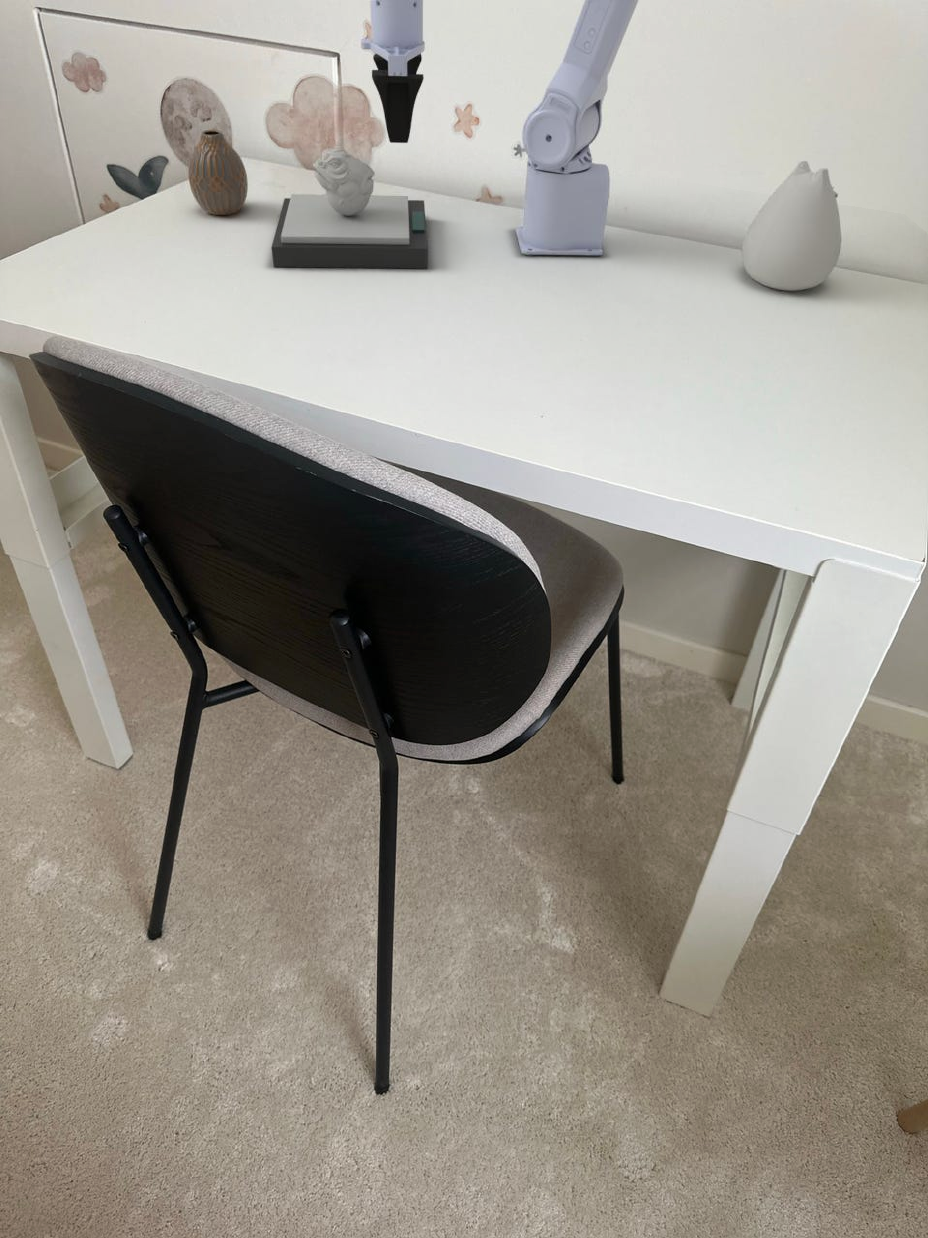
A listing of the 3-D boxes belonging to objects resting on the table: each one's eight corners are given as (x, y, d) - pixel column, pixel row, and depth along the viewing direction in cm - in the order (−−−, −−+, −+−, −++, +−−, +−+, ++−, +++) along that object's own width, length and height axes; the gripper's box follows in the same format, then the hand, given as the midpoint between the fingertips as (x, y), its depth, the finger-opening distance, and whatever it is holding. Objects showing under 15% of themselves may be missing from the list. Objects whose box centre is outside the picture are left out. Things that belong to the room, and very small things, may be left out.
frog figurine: (309, 209, 103) (304, 143, 99) (367, 202, 106) (364, 138, 101) (325, 226, 99) (320, 159, 95) (384, 220, 102) (382, 153, 97)
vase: (183, 215, 109) (170, 136, 103) (211, 197, 114) (199, 121, 108) (234, 222, 108) (223, 143, 102) (260, 204, 113) (251, 128, 107)
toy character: (850, 287, 99) (888, 171, 91) (783, 305, 95) (817, 185, 87) (781, 255, 106) (811, 145, 98) (716, 271, 101) (742, 157, 93)
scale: (424, 218, 111) (424, 193, 109) (427, 268, 99) (427, 241, 97) (286, 216, 110) (283, 190, 108) (273, 267, 98) (270, 239, 96)
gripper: (361, -19, 101) (365, 115, 110) (357, 3, 90) (363, 149, 99) (423, -17, 101) (422, 116, 111) (426, 5, 91) (426, 150, 100)
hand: (398, 132), depth 105 cm, fingers open, 7 cm apart
